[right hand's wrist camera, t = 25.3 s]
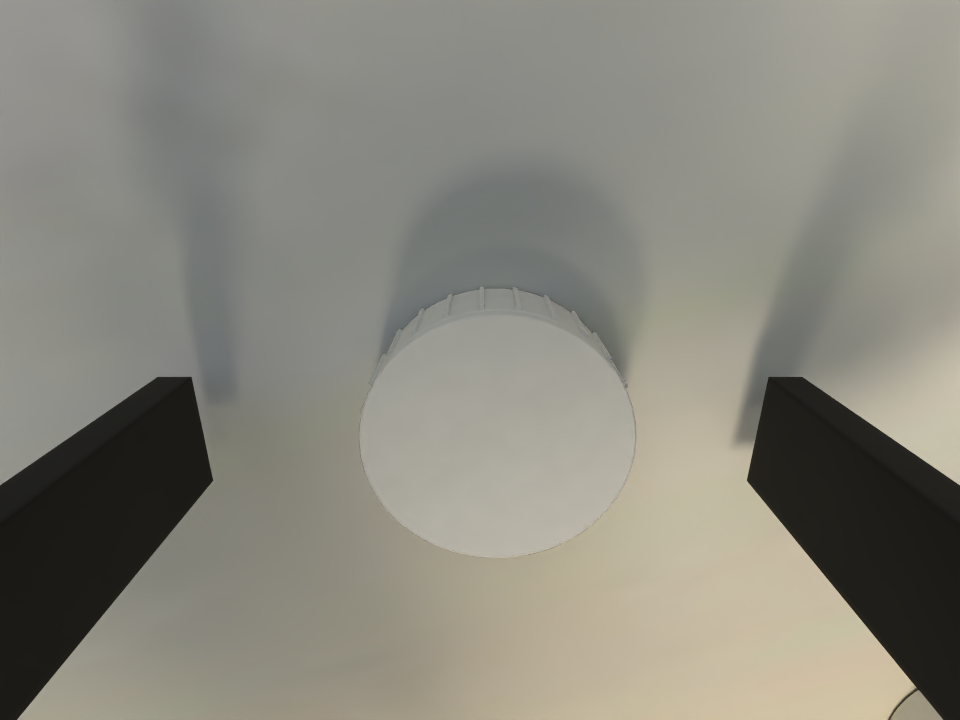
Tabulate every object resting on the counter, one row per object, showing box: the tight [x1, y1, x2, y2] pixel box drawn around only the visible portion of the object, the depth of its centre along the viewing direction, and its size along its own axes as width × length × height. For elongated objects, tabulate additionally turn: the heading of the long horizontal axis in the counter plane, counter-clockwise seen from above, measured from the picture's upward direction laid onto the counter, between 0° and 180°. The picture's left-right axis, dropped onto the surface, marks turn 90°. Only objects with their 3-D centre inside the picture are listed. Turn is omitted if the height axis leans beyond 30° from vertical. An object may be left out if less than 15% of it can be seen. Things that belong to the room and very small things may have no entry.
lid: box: [359, 286, 636, 558], centre depth 12 cm, size 6×6×2 cm
